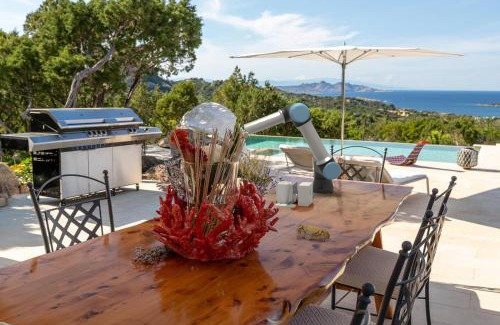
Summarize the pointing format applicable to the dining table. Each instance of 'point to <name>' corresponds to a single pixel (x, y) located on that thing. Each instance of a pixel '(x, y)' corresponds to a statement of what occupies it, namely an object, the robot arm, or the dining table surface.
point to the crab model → (312, 232)
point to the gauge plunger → (292, 192)
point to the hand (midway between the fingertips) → (264, 185)
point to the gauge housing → (302, 195)
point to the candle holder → (282, 192)
